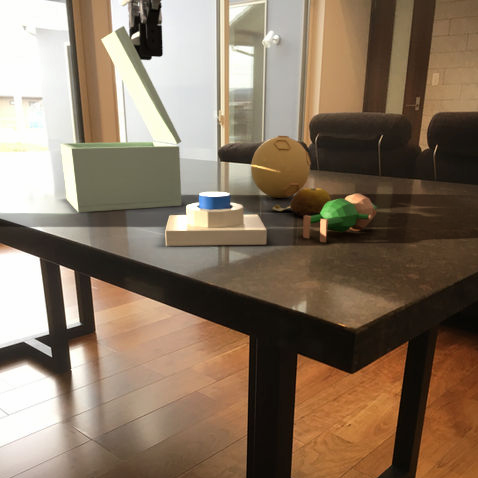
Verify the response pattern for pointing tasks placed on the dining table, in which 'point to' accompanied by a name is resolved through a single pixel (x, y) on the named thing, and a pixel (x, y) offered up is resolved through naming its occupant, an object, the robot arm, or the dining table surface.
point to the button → (214, 200)
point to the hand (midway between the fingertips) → (146, 56)
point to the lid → (140, 84)
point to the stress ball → (280, 167)
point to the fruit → (307, 202)
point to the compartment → (121, 175)
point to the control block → (215, 227)
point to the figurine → (342, 215)
